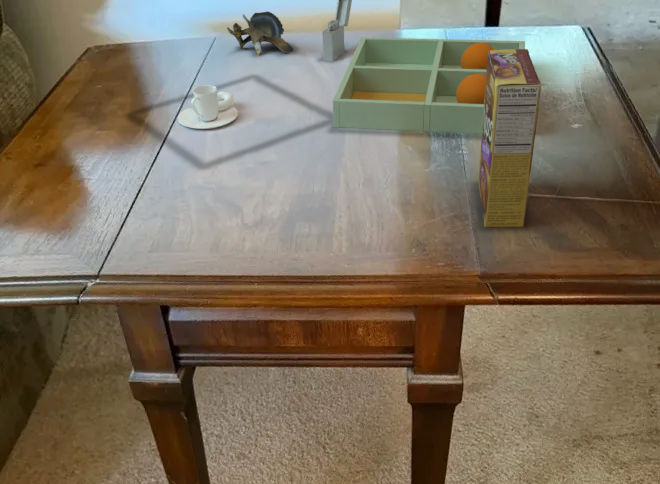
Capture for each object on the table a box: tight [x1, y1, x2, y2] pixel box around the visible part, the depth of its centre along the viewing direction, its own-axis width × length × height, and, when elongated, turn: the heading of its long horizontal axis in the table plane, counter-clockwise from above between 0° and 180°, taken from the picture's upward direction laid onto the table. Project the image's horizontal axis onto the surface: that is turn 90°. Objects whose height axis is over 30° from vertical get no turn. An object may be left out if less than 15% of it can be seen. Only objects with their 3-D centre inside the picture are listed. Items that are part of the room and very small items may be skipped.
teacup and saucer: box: [177, 84, 239, 130], centre depth 101 cm, size 9×8×4 cm
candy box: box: [477, 48, 542, 228], centre depth 76 cm, size 9×4×15 cm, turn 175°
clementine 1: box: [461, 43, 494, 70], centre depth 105 cm, size 5×5×5 cm
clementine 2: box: [456, 74, 486, 104], centre depth 97 cm, size 5×5×5 cm
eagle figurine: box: [226, 10, 295, 57], centre depth 119 cm, size 8×7×9 cm
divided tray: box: [332, 36, 526, 135], centre depth 103 cm, size 23×23×4 cm
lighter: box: [322, 0, 353, 62], centre depth 116 cm, size 7×2×8 cm, turn 153°
